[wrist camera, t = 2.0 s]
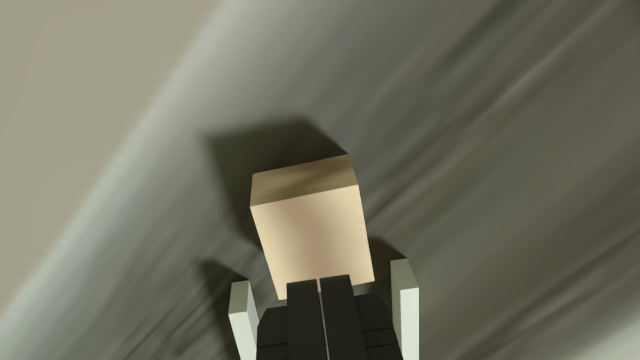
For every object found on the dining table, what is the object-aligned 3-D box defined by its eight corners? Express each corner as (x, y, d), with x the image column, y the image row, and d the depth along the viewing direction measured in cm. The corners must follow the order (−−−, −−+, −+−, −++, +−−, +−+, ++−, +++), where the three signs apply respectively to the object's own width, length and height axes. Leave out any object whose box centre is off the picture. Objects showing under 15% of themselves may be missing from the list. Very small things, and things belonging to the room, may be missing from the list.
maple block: (348, 152, 29) (358, 184, 25) (363, 241, 32) (374, 280, 29) (252, 172, 29) (249, 206, 26) (278, 259, 32) (279, 300, 29)
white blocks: (407, 258, 33) (418, 287, 30) (409, 371, 39) (418, 403, 36) (231, 282, 33) (228, 313, 30) (260, 392, 39) (259, 426, 36)
